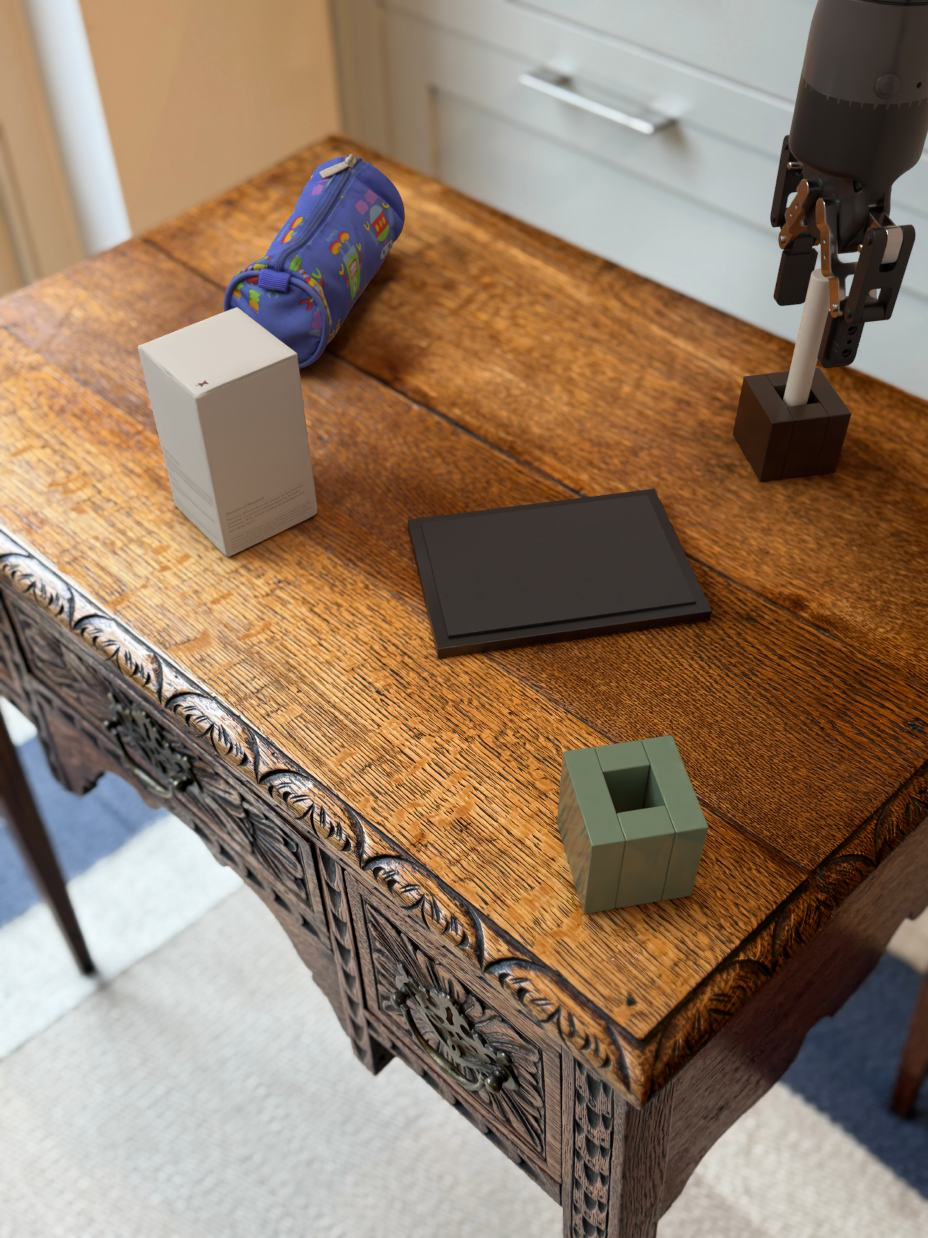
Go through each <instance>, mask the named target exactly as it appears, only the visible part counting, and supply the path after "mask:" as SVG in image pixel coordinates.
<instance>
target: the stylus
mask: <svg viewBox="0 0 928 1238" xmlns="http://www.w3.org/2000/svg"><path fill="white" fill-rule="evenodd" d="M803 304H804V305H803V309H802V315H801V318H800V323H799V327H798V332H797V336H796V341H795V345H794V349H793V354H792V357H791V363H790V367H789V370H788V371H789V376H788V380H787V385H786V389H785V394H784V398H783V403H784V404H785V406H786V407H789V406H797V405H806V404H807V401H808V397H809V393H810V388H811V384H812V380H813V376H814V372H815V368H817V363H818V359H817V356H818V352H819V348H820V344H821V340H822V335H823V331H824V327H825V323H826V319H827V315H828V311H830V290H829V280H828V279H827V278H825V277H824V276H823V275H822V273H821V268H815V270H814V271H813V272H812V273H811V277H810V282H809V286H808V291H807V295H806V300H805V302H804V303H803Z"/></svg>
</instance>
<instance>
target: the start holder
mask: <svg viewBox="0 0 928 1238" xmlns="http://www.w3.org/2000/svg"><path fill="white" fill-rule="evenodd" d="M789 371H790V370H784V371H776V372H766V373H762V374H751V375H744V376H743V377H742V378H743V379H742V384H741V388H740V394H739V399H738V404H737V409H736V415H735V420H734V426H733V431H732V435H733V437H734V439H735V441H736V442H737V444H738V446H739V448H740V450H741V452H742V453H743V455H744V456H745V459H746V460H747V461H748V464H749V465H750V467H751V469H752V471H753V472H754V475H756V478H757V480H758V481H759V482H766V481H775V480H781V479H782V480H783V479H790V478H791V479H792V478H799V477H800V478H801V477H807V476H814V475H816V476H817V475H824V474H831V473H836V471H837V469H838V465H839V461H840V459H841V453H842V450H843V446H844V443H845V439H846V435H847V432H848V428H849V424H850V421H851V418H852V412H851V410H850V409H849V407H848V406H847V404H846V403H845V402H844V400H843V399H842V397H841V396H840V395H839V393H838V392H837V391H836V389H835V387H834V386H833V385H832V383H831V382H830V381H829V379H828V378H827V377H826V376H827V375H825V374H824V372H823V371H822V369H821V367H816V368H815V372H814V376H813V380H812V384H811V388H810V393H809V397H808V401H807V404H806V405H797V406H789V407H786V406H785V404H784V403H783V398H784V394H785V389H786V385H787V380H788V376H789Z"/></svg>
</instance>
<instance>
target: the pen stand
mask: <svg viewBox="0 0 928 1238" xmlns="http://www.w3.org/2000/svg"><path fill="white" fill-rule="evenodd" d="M673 736H674V735H671V734H670V735H664V736H663V735H662V736H657V737H650V738H644V739H639V740H631V741H625V742H619V743H612V744H606V745H605V744H604V745H599V746H595V747H594V746H592V747H584V748H576V749H571V750H570V749H569V750H565V751H563V752H562V761H561V771H560V783H559V794H558V807H557V815H556V816H557V817H556V823H557V824H556V825H557V827H558V830H559V834H560V837H561V841H562V845H563V847H564V851H565V856H566V858H567V862H568V866H569V869H570V873H571V876H572V880H573V882H574V886H575V890H576V894H577V896H578V901H579V904H580V907H581V910H582V913H583V914H584V915H586V914H587V915H588V914H594V913H600V912H605V911H610V910H614V909H621V908H627V907H632V906H638V905H639V906H640V905H645V904H650V903H657V902H661V901H662V902H663V901H668V900H675V899H681V898H686V897H687V898H688V897H690V896H692V895H693V892H694V887H695V885H696V884H695V883H696V879H697V876H698V872H699V868H700V864H701V860H702V855H703V852H704V847H705V844H706V839H707V835H708V831H709V824H708V822H707V819H706V817H705V813H704V812H703V810H702V807H701V804H700V801H699V799H698V797H697V794H696V791H695V788H694V786H693V784H692V781H691V779H690V777H689V773H688V771H687V768H686V766H685V763H684V761H683V759H682V756H681V754H680V751H679V749H678V745H677V744H676V741H675V739H674V737H673Z"/></svg>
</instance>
